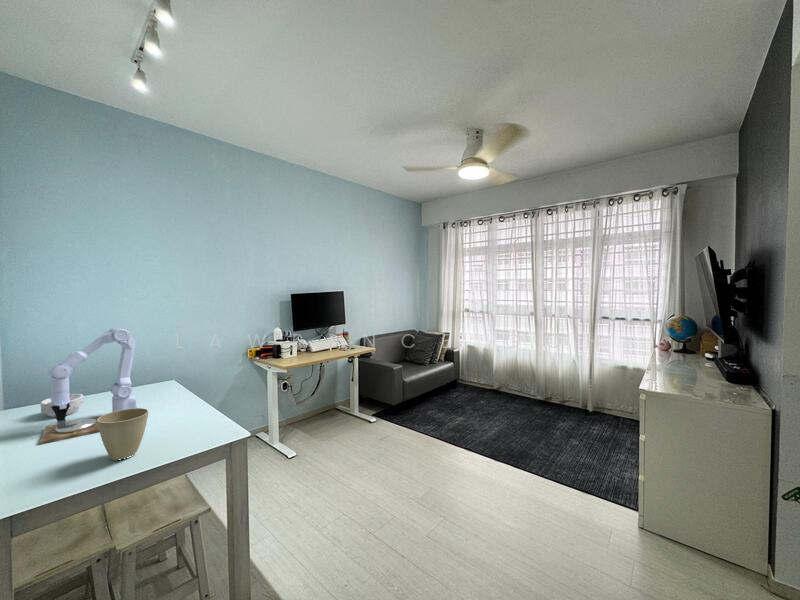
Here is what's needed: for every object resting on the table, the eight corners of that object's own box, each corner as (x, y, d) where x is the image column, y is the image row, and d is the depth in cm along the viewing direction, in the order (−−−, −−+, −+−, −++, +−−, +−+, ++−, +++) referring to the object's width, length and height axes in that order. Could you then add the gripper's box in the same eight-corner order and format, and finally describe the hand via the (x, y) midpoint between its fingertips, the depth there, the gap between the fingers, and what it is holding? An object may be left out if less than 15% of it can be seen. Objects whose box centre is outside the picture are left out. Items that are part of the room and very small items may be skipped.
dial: (96, 418, 155) (95, 410, 155) (95, 427, 146) (95, 418, 146) (56, 426, 147) (56, 417, 146) (53, 436, 137) (53, 426, 137)
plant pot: (138, 463, 119) (137, 420, 118) (88, 469, 115) (87, 424, 114) (155, 444, 133) (155, 406, 133) (112, 449, 129) (111, 409, 129)
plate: (106, 417, 160) (105, 414, 160) (106, 430, 146) (106, 427, 146) (46, 429, 147) (46, 426, 147) (40, 444, 132) (40, 441, 132)
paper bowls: (45, 422, 155) (45, 405, 154) (37, 415, 163) (36, 399, 162) (88, 412, 167) (88, 396, 167) (78, 406, 175) (78, 391, 175)
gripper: (45, 390, 147) (45, 419, 148) (49, 396, 138) (50, 428, 139) (67, 386, 153) (67, 415, 153) (72, 392, 144) (73, 423, 144)
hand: (60, 421), depth 146 cm, fingers closed
